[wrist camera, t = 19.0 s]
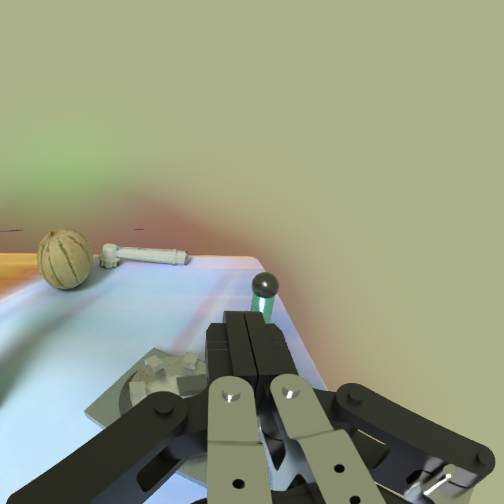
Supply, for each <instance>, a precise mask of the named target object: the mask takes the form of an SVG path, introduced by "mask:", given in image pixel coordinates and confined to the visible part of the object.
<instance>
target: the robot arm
mask: <svg viewBox="0 0 504 504" xmlns="http://www.w3.org/2000/svg"><path fill="white" fill-rule="evenodd" d="M205 365H206V383H207V387H206V388H205V389H204V390H203V391H202V392H201V393H199V394H197V395H195V396H191V397H187V398H182V397H180V396H179V395H177V394H175V393H173V392H169V391H158V392H154V393H151V394H149V395H148V396H146V397H145V398H144V399H143V400H141V401H140V402H139V403H138V404H136V405H135V406H134V407H133V408H131V409H130V410H129V411H127V412H126V413H125V414H124V415H122V416H121V417H120V418H118V419H117V420H116V421H114V422H113V423H112V424H111V425H109V426H108V427H107V428H105V429H104V430H103V431H101V432H100V433H99V434H97V435H96V436H95V437H93V438H92V439H91V440H89V441H88V442H87V443H85V444H84V445H82V446H81V447H80V448H78V449H77V450H76V451H74V452H73V453H71V454H70V455H69V456H67V457H66V458H64V459H63V460H62V461H60V462H59V463H57V464H56V465H55V466H53V467H52V468H50V469H49V470H47V471H46V472H45V473H43V474H42V475H40V476H39V477H37V478H36V479H34V480H33V481H31V482H30V483H28V484H27V485H25V486H24V487H22V488H21V489H19V490H18V491H16V492H15V493H13V494H12V495H11V496H10V497H9V498H8V500H7V503H6V504H143V503H144V502H145V501H146V500H147V499H148V498H149V497H150V496H151V495H152V494H153V493H154V492H156V491H157V490H158V489H159V488H160V487H161V486H162V485H163V484H164V483H165V482H166V481H167V480H168V479H169V478H170V477H171V476H172V475H173V474H174V473H175V472H176V471H177V470H178V469H179V468H180V467H181V466H182V465H183V464H184V463H185V462H186V461H187V460H188V458H189V457H191V456H194V455H198V454H201V453H205V452H207V498H203V499H200V500H198V501H195V502H193V503H191V504H468V503H469V500H470V497H471V494H472V491H473V488H474V486H475V485H476V484H477V483H479V482H480V481H481V480H483V479H484V478H485V477H486V476H487V475H489V474H490V473H491V472H492V471H493V469H494V467H495V457H494V454H493V453H492V451H491V450H490V449H489V448H488V447H486V446H484V445H482V444H480V443H477V442H475V441H473V440H470V439H468V438H466V437H464V436H461V435H459V434H457V433H455V432H453V431H451V430H449V429H446V428H444V427H442V426H440V425H438V424H436V423H434V422H432V421H430V420H427V419H426V418H424V417H422V416H420V415H418V414H416V413H414V412H412V411H410V410H408V409H406V408H404V407H402V406H400V405H398V404H396V403H394V402H392V401H390V400H388V399H386V398H385V397H383V396H381V395H379V394H377V393H375V392H374V391H372V390H370V389H368V388H366V387H364V386H362V385H360V384H356V383H348V384H344V385H342V386H341V387H339V389H338V390H337V392H331V391H323V390H318V389H314V388H312V387H311V385H310V384H309V382H308V381H307V380H305V379H304V378H302V377H300V376H299V375H298V372H297V369H296V367H295V364H294V362H293V359H292V356H291V354H290V351H289V349H288V346H287V343H286V342H285V338H284V335H283V333H282V331H281V330H280V329H279V328H278V327H277V326H276V325H275V324H274V323H272V324H266V323H265V320H264V317H263V314H262V312H261V311H243V312H242V311H224V313H223V323H211V324H210V326H209V327H208V329H207V331H206V349H205ZM256 416H259V419H260V427H259V434H258V426H257V417H256ZM358 429H359V430H361V431H363V432H365V433H366V434H368V435H370V436H372V437H374V438H375V439H377V440H379V441H381V442H383V443H385V444H386V445H384V444H381V443H379V442H377V441H376V440H374V439H372V438H370V437H368V436H366V435H365V434H363V433H361V432H359V431H358ZM259 436H260V439H261V442H262V443H260V440H259ZM266 458H267V461H268V464H269V467H270V470H271V473H272V487H273V490H270V483H269V476H268V469H267V461H266ZM374 481H375V482H377V483H379V484H381V485H383V486H385V487H387V488H389V489H391V490H393V491H395V492H397V493H399V494H401V495H403V496H404V499H403V498H401V497H399V496H398V495H396V494H394V493H392V492H390V491H388V490H386V489H384V488H383V487H381V486H379V485H377V484H375V482H374Z"/></svg>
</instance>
